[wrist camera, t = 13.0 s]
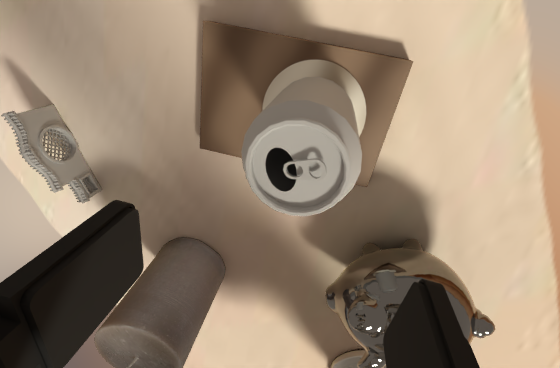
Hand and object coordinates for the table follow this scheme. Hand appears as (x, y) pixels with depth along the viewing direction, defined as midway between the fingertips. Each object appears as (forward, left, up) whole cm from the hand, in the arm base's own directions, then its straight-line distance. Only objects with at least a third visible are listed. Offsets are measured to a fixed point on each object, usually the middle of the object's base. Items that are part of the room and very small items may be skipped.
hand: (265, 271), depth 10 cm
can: (0, 0, -20) cm, 20 cm away
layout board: (+2, 0, -21) cm, 21 cm away
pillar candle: (+12, +25, -22) cm, 35 cm away
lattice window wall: (+28, +11, -22) cm, 37 cm away
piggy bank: (-13, +16, -22) cm, 30 cm away
